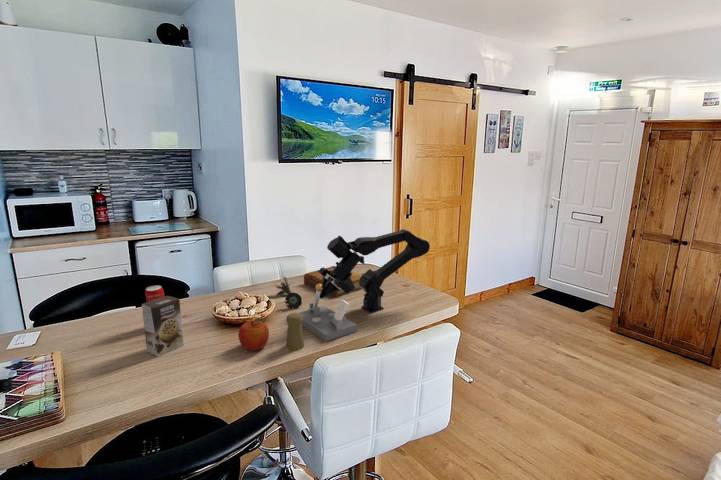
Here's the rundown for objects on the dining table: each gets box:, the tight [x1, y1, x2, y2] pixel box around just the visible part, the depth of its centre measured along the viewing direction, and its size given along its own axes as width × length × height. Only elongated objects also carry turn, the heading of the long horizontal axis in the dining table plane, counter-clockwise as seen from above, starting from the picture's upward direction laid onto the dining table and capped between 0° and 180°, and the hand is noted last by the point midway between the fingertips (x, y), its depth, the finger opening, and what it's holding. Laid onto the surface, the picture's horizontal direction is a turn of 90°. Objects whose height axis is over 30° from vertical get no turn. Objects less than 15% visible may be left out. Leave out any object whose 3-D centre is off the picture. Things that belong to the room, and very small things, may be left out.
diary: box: [303, 265, 363, 298], centre depth 189 cm, size 23×19×6 cm
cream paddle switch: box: [330, 298, 351, 326], centre depth 142 cm, size 2×4×9 cm, turn 28°
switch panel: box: [298, 302, 358, 343], centre depth 147 cm, size 13×21×6 cm, turn 38°
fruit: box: [237, 317, 270, 351], centre depth 131 cm, size 10×10×10 cm
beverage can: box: [144, 284, 166, 302], centre depth 144 cm, size 6×6×15 cm
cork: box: [285, 312, 305, 351], centre depth 132 cm, size 6×6×11 cm
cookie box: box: [141, 295, 184, 357], centre depth 128 cm, size 9×6×16 cm
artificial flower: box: [273, 276, 303, 310], centre depth 172 cm, size 9×22×10 cm, turn 16°
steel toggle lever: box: [310, 283, 324, 312], centre depth 152 cm, size 3×3×11 cm
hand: (319, 297), depth 152 cm, fingers closed, pressing on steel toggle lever
